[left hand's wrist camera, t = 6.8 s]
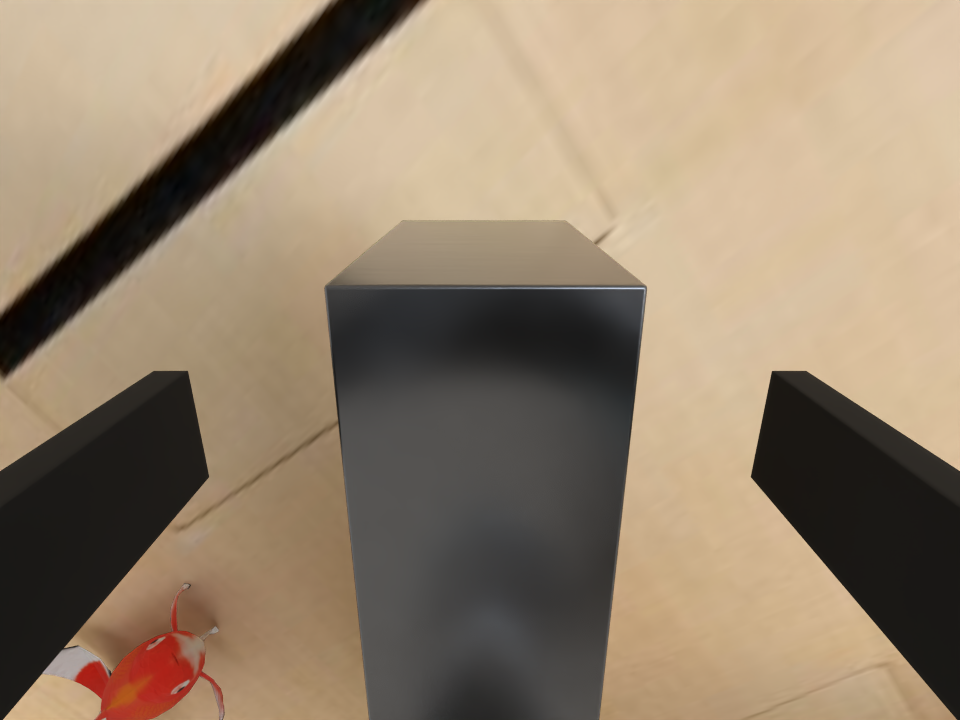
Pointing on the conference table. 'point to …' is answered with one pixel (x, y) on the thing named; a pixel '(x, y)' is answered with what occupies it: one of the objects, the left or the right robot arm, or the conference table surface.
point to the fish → (141, 673)
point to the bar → (484, 463)
